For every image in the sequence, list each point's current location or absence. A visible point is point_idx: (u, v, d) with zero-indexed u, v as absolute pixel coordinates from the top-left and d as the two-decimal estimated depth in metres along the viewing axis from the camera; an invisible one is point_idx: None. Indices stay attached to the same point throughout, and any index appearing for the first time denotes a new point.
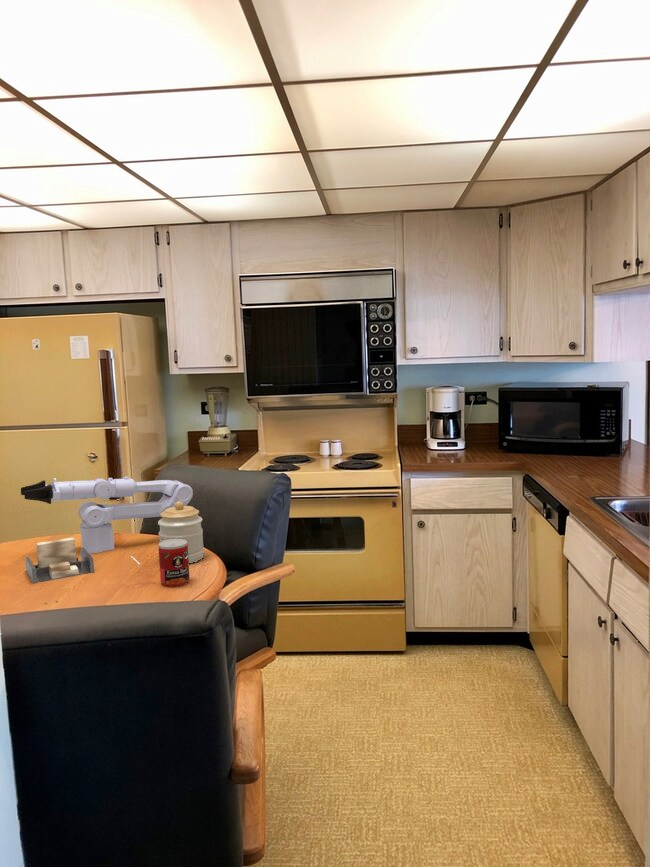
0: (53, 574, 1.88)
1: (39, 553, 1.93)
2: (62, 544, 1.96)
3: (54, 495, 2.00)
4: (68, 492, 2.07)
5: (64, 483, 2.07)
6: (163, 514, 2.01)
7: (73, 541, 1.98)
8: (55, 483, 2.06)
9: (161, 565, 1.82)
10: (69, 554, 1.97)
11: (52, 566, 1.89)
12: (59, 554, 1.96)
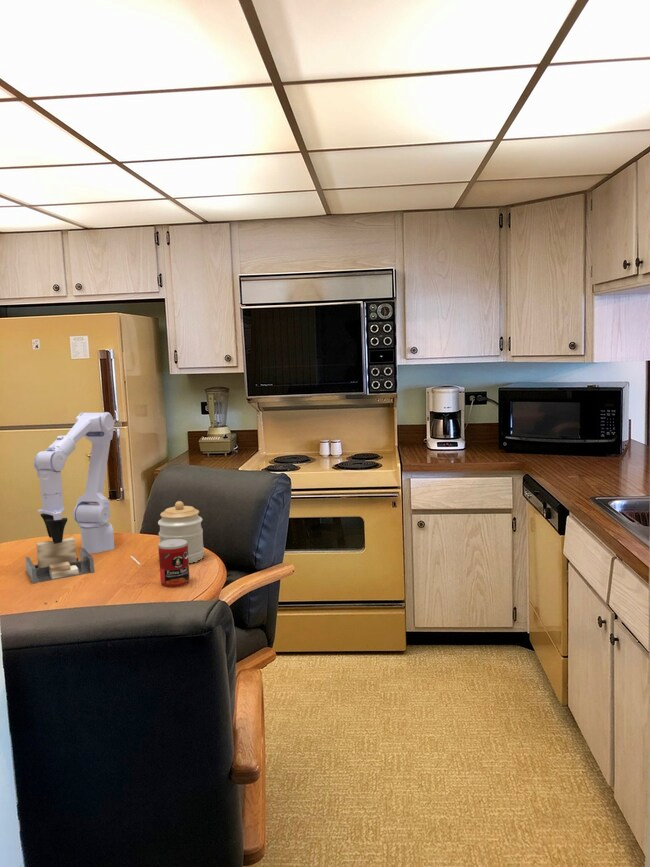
0: (53, 574, 1.88)
1: (39, 553, 1.93)
2: (62, 544, 1.96)
3: (57, 518, 1.89)
4: (54, 499, 1.92)
5: (43, 502, 1.92)
6: (163, 514, 2.01)
7: (73, 541, 1.98)
8: (44, 512, 1.92)
9: (161, 565, 1.82)
10: (69, 554, 1.97)
11: (52, 566, 1.89)
12: (59, 554, 1.96)
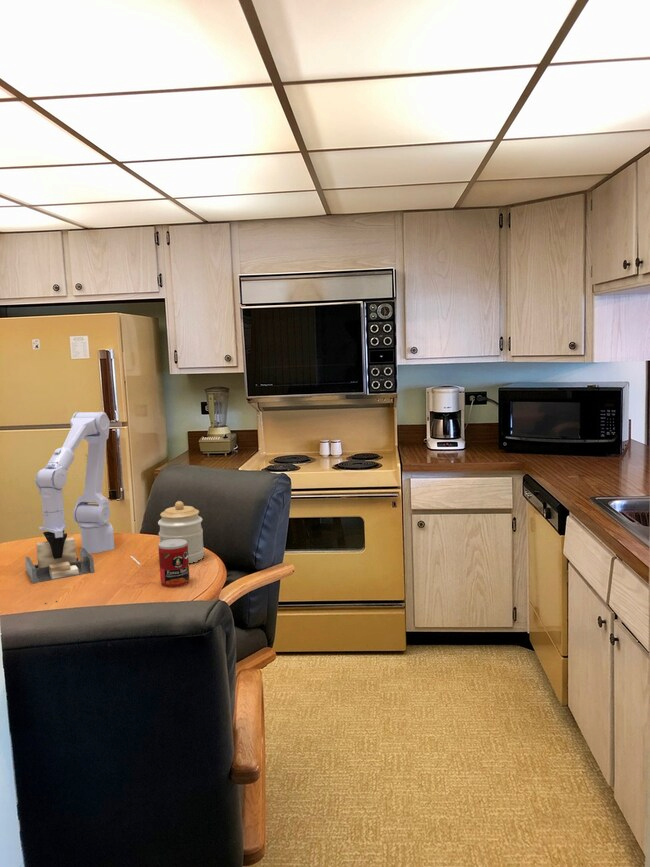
0: (53, 574, 1.88)
1: (39, 553, 1.93)
2: None
3: (59, 536, 1.90)
4: (55, 516, 1.93)
5: (45, 520, 1.93)
6: (163, 514, 2.01)
7: (73, 541, 1.98)
8: (45, 529, 1.93)
9: (161, 565, 1.82)
10: (69, 554, 1.97)
11: (52, 566, 1.89)
12: None
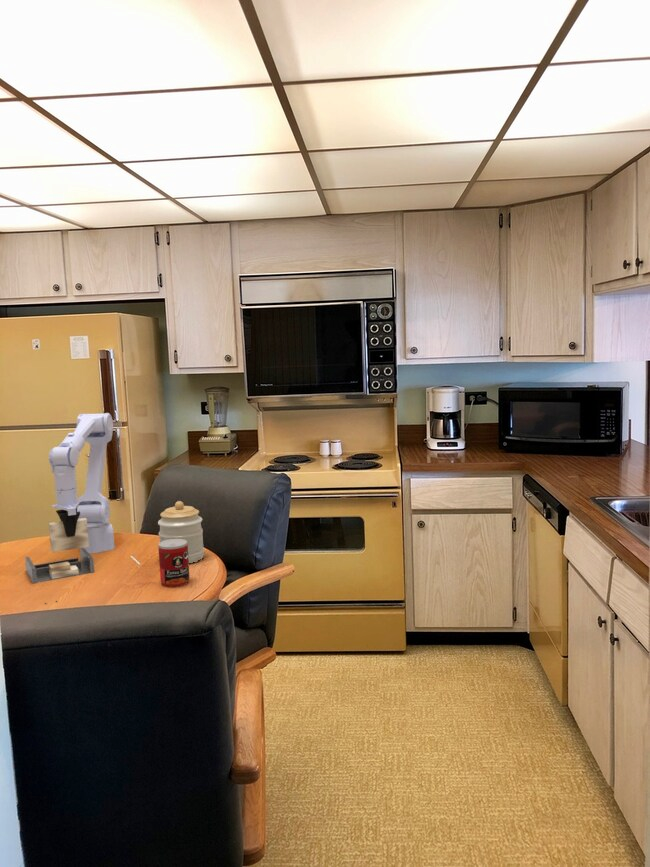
0: (53, 574, 1.88)
1: (51, 533, 1.94)
2: None
3: (72, 514, 1.90)
4: (68, 494, 1.93)
5: (58, 497, 1.94)
6: (163, 514, 2.01)
7: (85, 521, 1.98)
8: (58, 507, 1.94)
9: (161, 565, 1.82)
10: (81, 534, 1.98)
11: (52, 566, 1.89)
12: None
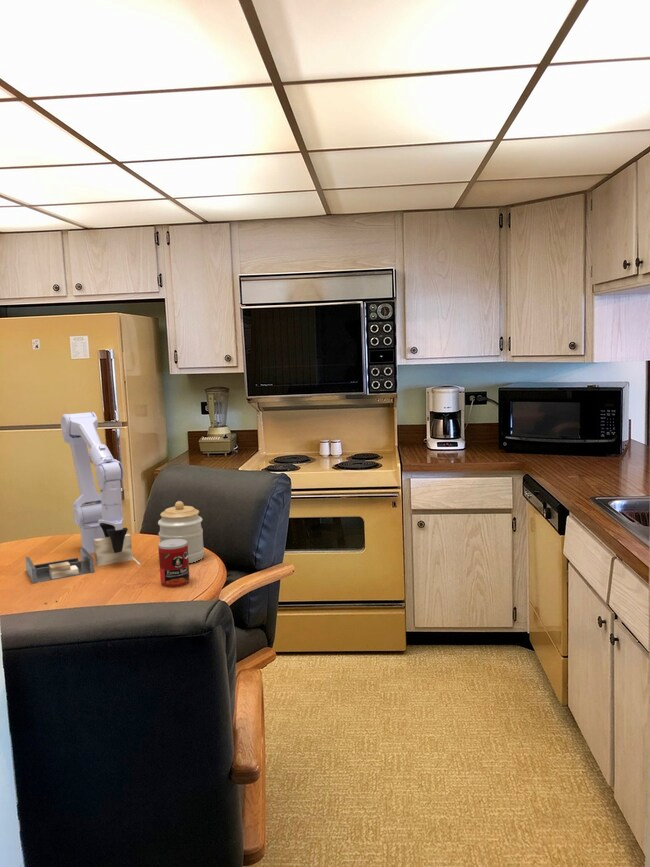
0: (53, 574, 1.88)
1: (97, 549, 1.98)
2: None
3: (119, 528, 1.94)
4: (114, 509, 1.98)
5: (104, 512, 1.98)
6: (163, 514, 2.01)
7: (129, 537, 2.02)
8: (104, 522, 1.98)
9: (161, 565, 1.82)
10: (125, 549, 2.02)
11: (52, 566, 1.89)
12: None
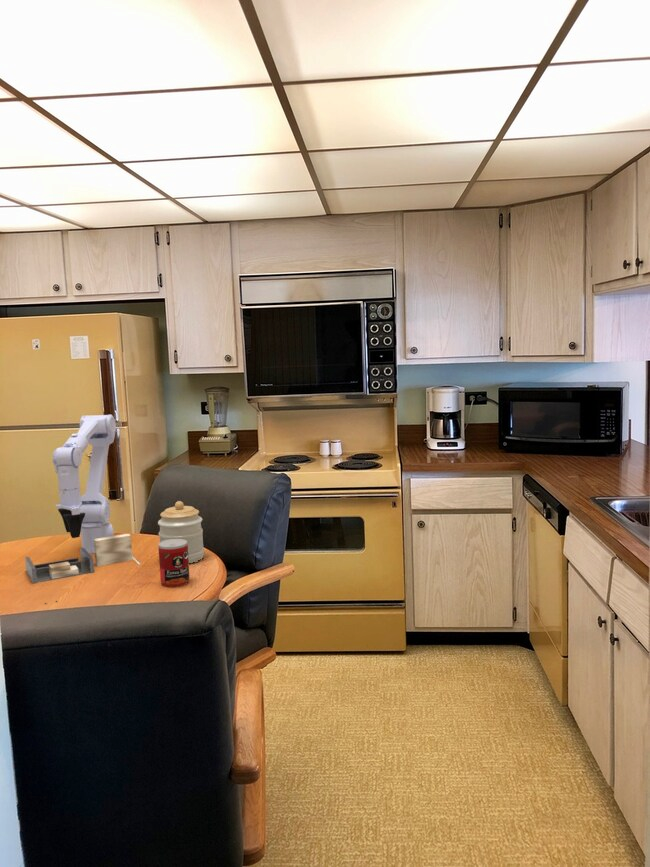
0: (53, 574, 1.88)
1: (97, 549, 1.98)
2: (119, 540, 2.01)
3: (76, 513, 1.92)
4: (72, 494, 1.96)
5: (61, 497, 1.96)
6: (163, 514, 2.01)
7: (129, 537, 2.02)
8: (62, 507, 1.96)
9: (161, 565, 1.82)
10: (125, 549, 2.02)
11: (52, 566, 1.89)
12: (116, 550, 2.01)
